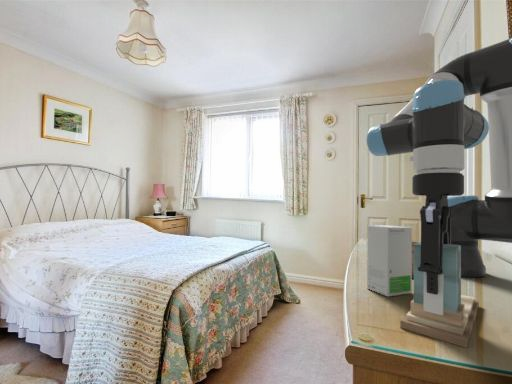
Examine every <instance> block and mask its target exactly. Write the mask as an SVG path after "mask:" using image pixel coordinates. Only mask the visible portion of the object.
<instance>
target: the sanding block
mask: <svg viewBox="0 0 512 384" xmlns="http://www.w3.org/2000/svg"><path fill="white" fill-rule="evenodd" d="M417 242H418V243H416V244H414V278H413V298H412V299H411V301H410V309H409V311H410V313H411V314H414V315H418V316H422V317H426V318H430V319H433V320H437V321H441V322H445V323H449V324H452V325H456V326H461V324H462V321H463V319H464V316H465V304H461V295H462V276H461V245H453V244H443V257H442V270H443V272H442V274H444V314H443V315H439V314H435V313H431V312H427V311H423V309H424V272H422V271H418V267H420V264H421V241H417ZM430 264H433V263H430Z"/></svg>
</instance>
